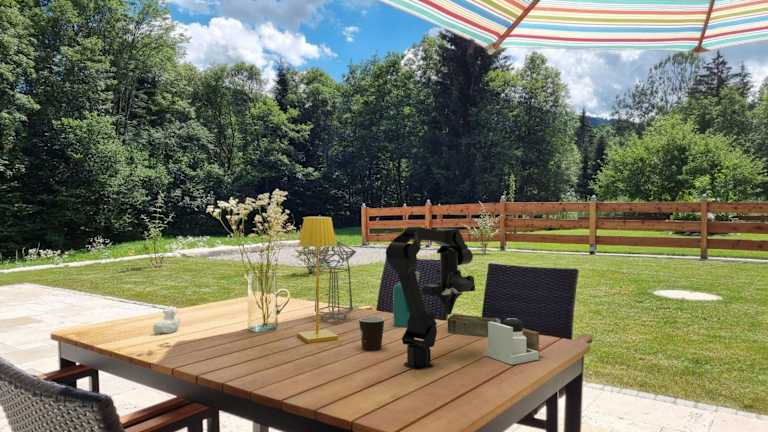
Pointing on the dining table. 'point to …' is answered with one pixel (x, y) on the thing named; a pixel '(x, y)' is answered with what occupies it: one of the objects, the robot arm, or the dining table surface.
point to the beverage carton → (470, 325)
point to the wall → (532, 339)
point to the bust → (167, 322)
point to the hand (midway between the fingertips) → (448, 314)
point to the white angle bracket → (505, 345)
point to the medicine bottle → (517, 336)
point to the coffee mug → (371, 333)
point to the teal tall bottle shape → (400, 306)
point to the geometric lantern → (336, 279)
